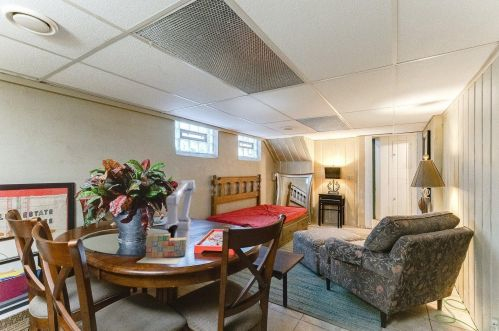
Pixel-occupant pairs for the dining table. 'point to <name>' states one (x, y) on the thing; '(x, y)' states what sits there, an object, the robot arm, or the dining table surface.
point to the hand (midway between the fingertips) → (172, 238)
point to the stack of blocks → (164, 246)
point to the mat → (160, 260)
